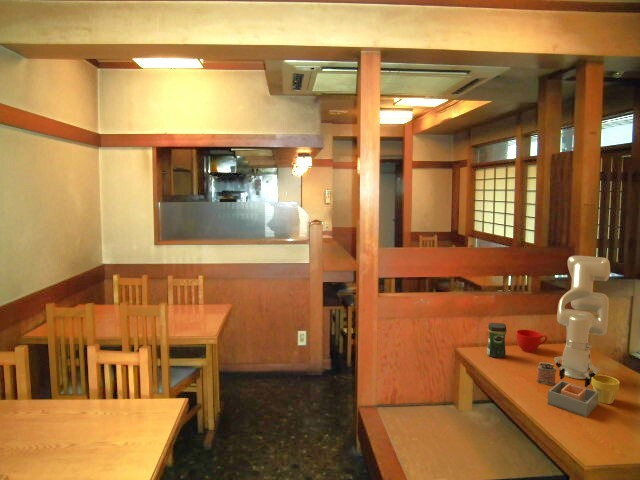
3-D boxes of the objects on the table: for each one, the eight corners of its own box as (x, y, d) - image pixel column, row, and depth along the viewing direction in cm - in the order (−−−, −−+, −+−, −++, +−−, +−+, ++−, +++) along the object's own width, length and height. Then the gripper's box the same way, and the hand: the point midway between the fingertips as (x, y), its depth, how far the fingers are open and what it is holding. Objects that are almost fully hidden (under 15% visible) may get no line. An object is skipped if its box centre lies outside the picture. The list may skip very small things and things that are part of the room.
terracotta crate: (567, 396, 195) (568, 383, 194) (584, 402, 190) (586, 389, 189) (559, 403, 189) (560, 390, 188) (577, 409, 184) (578, 395, 183)
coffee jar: (503, 353, 247) (504, 321, 245) (506, 358, 239) (508, 325, 237) (485, 352, 248) (486, 320, 246) (488, 357, 241) (490, 325, 238)
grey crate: (560, 392, 200) (561, 380, 199) (597, 405, 189) (598, 392, 188) (547, 403, 190) (548, 390, 189) (586, 417, 179) (587, 403, 178)
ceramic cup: (551, 354, 245) (553, 337, 244) (521, 354, 246) (522, 337, 244) (540, 346, 258) (541, 329, 257) (511, 345, 258) (512, 329, 257)
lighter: (554, 382, 211) (555, 362, 209) (555, 385, 207) (557, 365, 206) (535, 380, 213) (537, 360, 212) (536, 383, 210) (538, 363, 209)
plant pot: (591, 392, 201) (593, 372, 199) (619, 399, 194) (621, 378, 193) (588, 401, 193) (590, 380, 192) (616, 408, 186) (618, 387, 185)
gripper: (603, 347, 182) (599, 386, 185) (558, 336, 195) (556, 372, 198) (597, 352, 177) (594, 392, 180) (552, 341, 190) (549, 378, 193)
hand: (574, 382), depth 189 cm, fingers open, 9 cm apart
